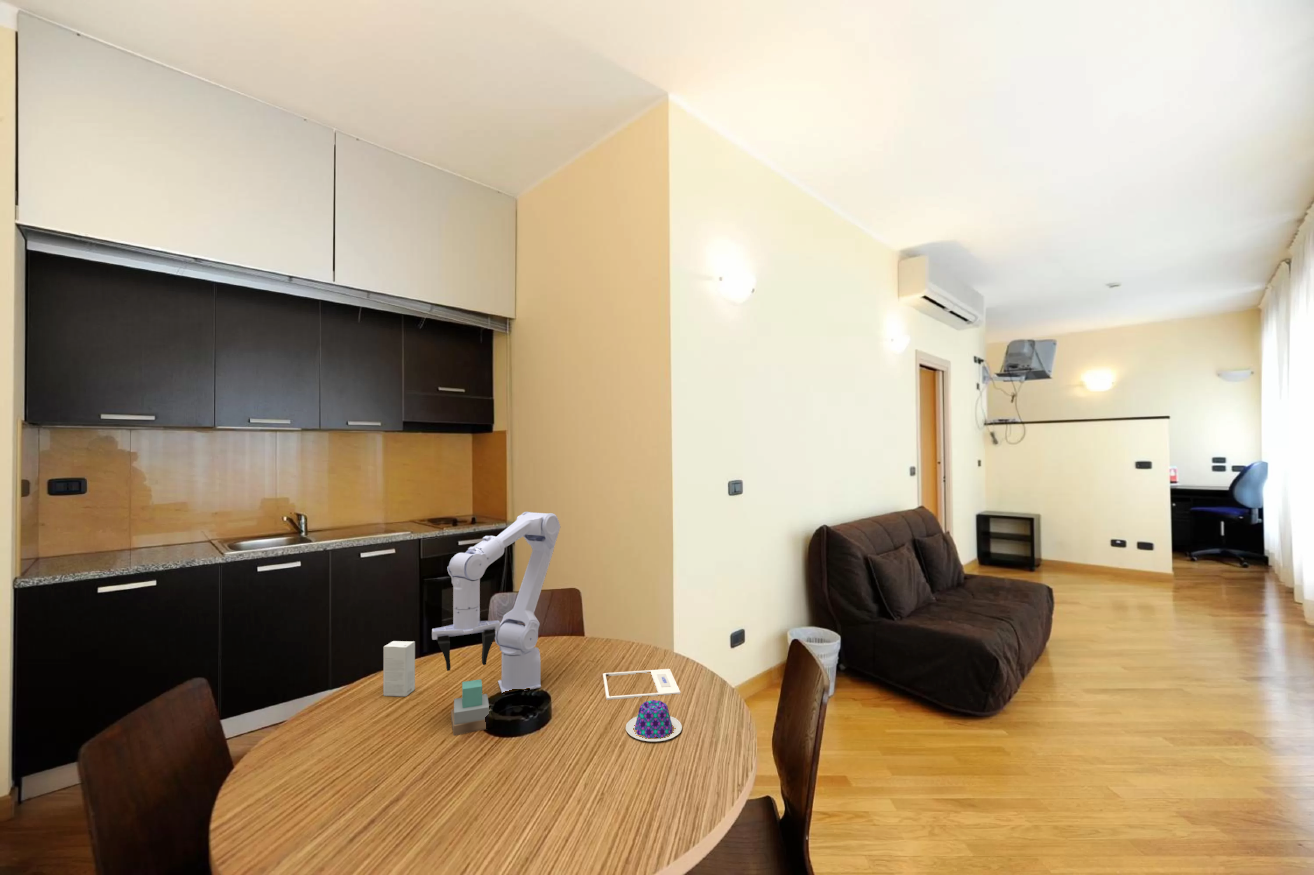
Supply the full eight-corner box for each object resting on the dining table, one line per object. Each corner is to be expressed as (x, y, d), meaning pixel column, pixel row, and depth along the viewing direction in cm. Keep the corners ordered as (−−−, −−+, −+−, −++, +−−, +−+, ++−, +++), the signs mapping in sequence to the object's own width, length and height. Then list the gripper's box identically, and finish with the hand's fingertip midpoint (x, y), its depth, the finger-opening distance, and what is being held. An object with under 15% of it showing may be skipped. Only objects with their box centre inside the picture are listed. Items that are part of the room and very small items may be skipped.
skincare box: (415, 689, 137) (415, 641, 137) (406, 697, 132) (406, 647, 133) (392, 688, 137) (392, 640, 138) (382, 696, 133) (382, 646, 133)
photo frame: (680, 691, 133) (606, 696, 131) (680, 696, 133) (606, 701, 131) (669, 668, 148) (602, 672, 145) (669, 672, 148) (602, 676, 145)
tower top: (486, 704, 124) (487, 693, 124) (489, 718, 117) (489, 707, 117) (454, 710, 121) (454, 698, 121) (454, 724, 115) (454, 712, 115)
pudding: (615, 727, 118) (615, 702, 118) (660, 711, 125) (660, 688, 125) (646, 751, 108) (646, 724, 108) (693, 733, 115) (693, 708, 115)
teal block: (481, 697, 122) (481, 679, 122) (482, 704, 118) (482, 686, 118) (462, 700, 121) (462, 681, 121) (462, 708, 117) (462, 689, 117)
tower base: (488, 713, 125) (488, 702, 125) (493, 729, 117) (493, 718, 118) (450, 721, 121) (451, 709, 122) (453, 738, 114) (453, 726, 114)
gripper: (433, 614, 118) (432, 678, 118) (502, 606, 124) (501, 666, 124) (431, 606, 125) (431, 666, 124) (497, 599, 131) (497, 656, 131)
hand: (466, 666), depth 125 cm, fingers open, 7 cm apart
